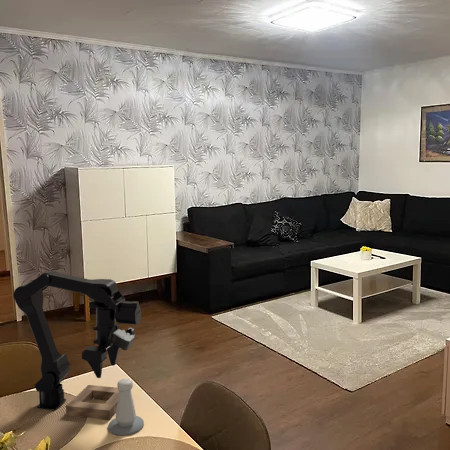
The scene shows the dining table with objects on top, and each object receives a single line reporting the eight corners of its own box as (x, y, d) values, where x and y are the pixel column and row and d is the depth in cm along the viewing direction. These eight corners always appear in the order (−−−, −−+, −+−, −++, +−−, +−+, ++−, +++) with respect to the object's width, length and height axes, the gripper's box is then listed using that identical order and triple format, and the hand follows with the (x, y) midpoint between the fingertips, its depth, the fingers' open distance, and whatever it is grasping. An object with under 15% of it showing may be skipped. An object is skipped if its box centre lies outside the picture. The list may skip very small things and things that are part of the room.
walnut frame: (66, 415, 140) (65, 405, 140) (88, 393, 154) (88, 384, 153) (109, 420, 137) (109, 410, 137) (128, 397, 151) (128, 388, 151)
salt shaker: (131, 430, 131) (130, 386, 129) (112, 428, 132) (111, 384, 131) (139, 419, 137) (138, 377, 135) (120, 417, 138) (119, 375, 136)
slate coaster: (102, 433, 130) (102, 431, 130) (117, 415, 140) (117, 413, 140) (135, 437, 129) (135, 435, 128) (148, 418, 138) (148, 416, 138)
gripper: (116, 335, 130) (116, 388, 132) (143, 315, 148) (143, 362, 150) (80, 331, 132) (81, 383, 134) (110, 312, 150) (111, 358, 152)
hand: (106, 371), depth 143 cm, fingers open, 9 cm apart
